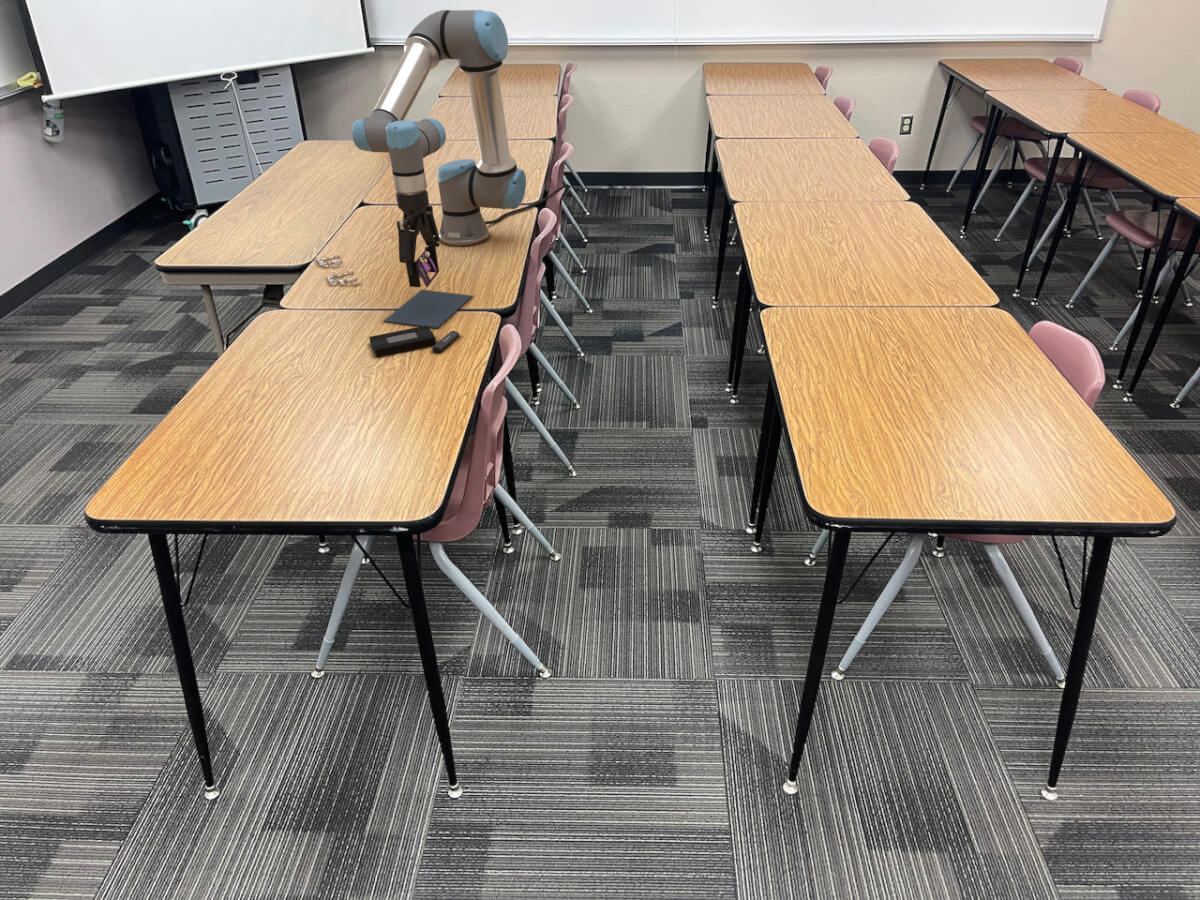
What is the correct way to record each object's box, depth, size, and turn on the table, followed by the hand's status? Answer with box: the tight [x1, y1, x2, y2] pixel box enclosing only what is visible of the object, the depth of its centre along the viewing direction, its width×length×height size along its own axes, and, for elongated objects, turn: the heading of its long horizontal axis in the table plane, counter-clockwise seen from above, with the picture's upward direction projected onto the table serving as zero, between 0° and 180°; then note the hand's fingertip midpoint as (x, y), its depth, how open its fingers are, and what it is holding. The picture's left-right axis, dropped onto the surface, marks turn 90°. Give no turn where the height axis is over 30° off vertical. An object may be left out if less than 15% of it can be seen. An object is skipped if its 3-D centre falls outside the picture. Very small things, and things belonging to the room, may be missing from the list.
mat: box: [384, 289, 473, 330], centre depth 212 cm, size 20×15×1 cm
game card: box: [415, 249, 439, 288], centre depth 206 cm, size 7×5×9 cm
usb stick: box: [431, 330, 460, 353], centre depth 195 cm, size 10×3×2 cm, turn 158°
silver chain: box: [315, 252, 358, 287], centre depth 234 cm, size 7×25×2 cm, turn 25°
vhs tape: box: [368, 325, 437, 358], centre depth 195 cm, size 8×14×2 cm, turn 114°
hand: (424, 278), depth 208 cm, fingers closed on game card, 9 cm apart
